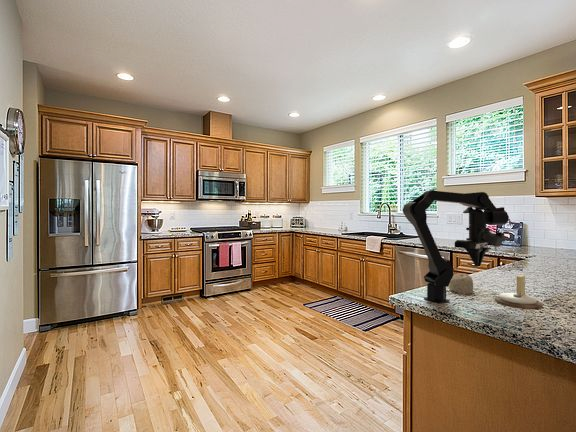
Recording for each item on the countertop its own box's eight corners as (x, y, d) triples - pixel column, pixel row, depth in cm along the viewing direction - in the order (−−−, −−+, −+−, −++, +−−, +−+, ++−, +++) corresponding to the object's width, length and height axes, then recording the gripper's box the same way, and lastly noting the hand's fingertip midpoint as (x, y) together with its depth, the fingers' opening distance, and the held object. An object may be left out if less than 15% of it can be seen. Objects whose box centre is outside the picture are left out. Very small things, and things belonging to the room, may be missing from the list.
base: (532, 311, 103) (532, 307, 103) (487, 301, 115) (487, 298, 115) (549, 304, 110) (549, 301, 110) (505, 295, 122) (505, 293, 122)
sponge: (470, 303, 126) (484, 283, 126) (451, 290, 126) (465, 270, 126) (458, 297, 135) (471, 278, 135) (440, 284, 135) (453, 266, 135)
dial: (494, 299, 113) (494, 276, 113) (505, 294, 120) (505, 272, 120) (531, 306, 105) (531, 281, 105) (541, 300, 112) (541, 277, 112)
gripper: (482, 226, 105) (482, 271, 106) (515, 225, 113) (515, 267, 113) (453, 225, 116) (453, 266, 116) (485, 224, 123) (485, 262, 123)
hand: (477, 265), depth 117 cm, fingers closed
